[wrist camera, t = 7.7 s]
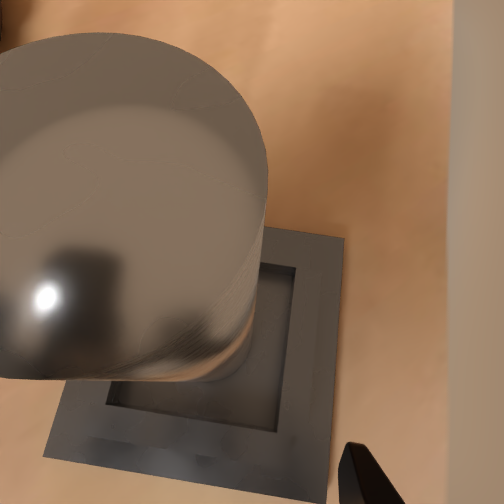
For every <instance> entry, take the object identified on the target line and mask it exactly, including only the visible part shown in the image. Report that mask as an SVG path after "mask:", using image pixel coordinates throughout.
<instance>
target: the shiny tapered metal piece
mask: <svg viewBox="0 0 504 504" xmlns="http://www.w3.org/2000/svg"><path fill="white" fill-rule="evenodd" d="M267 192H268V166H267V158H266V150H265V146H264V143H263V139H262V136H261V132H260V129H259V127H258V125H257V123H256V120H255V118H254V116H253V114H252V112H251V110H250V109H249V107H248V106H247V104H246V102H245V101H244V99H243V98H242V96H241V95H240V94H239V93H238V91H237V90H236V89H235V88H234V87H233V86H232V85H231V83H230V82H229V81H228V80H227V79H225V78H224V77H223V76H222V75H221V74H220V73H219V72H217V71H216V70H215V69H214V68H213V67H211V66H210V65H208V64H207V63H205V62H204V61H202V60H201V59H199V58H198V57H196V56H194V55H192V54H190V53H188V52H186V51H184V50H182V49H180V48H177V47H175V46H172V45H169V44H166V43H164V42H161V41H157V40H153V39H149V38H145V37H141V36H135V35H128V34H120V33H99V32H98V33H79V34H70V35H64V36H57V37H52V38H47V39H43V40H39V41H35V42H31V43H28V44H25V45H22V46H19V47H16V48H13V49H10V50H8V51H6V52H3V53H1V54H0V377H3V378H8V379H30V380H89V381H168V382H214V381H218V380H222V379H224V378H226V377H228V376H230V375H232V374H233V373H234V372H236V371H237V370H238V369H239V368H240V366H241V365H242V364H243V363H244V361H245V359H246V358H247V355H248V353H249V350H250V347H251V340H252V331H253V322H254V313H255V303H256V294H257V285H258V276H259V267H260V257H261V248H262V239H263V230H264V221H265V211H266V202H267Z"/></svg>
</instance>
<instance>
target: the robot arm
mask: <svg viewBox="0 0 504 504" xmlns="http://www.w3.org/2000/svg"><path fill="white" fill-rule="evenodd" d="M338 485H339V504H405V503H404V501H403V500H402V498H401V497H400V495H399V494H398V492H397V491H396V489H395V488H394V486H393V485H392V483H391V482H390V480H389V479H388V477H387V476H386V475H385V473H384V472H383V470H382V469H381V467H380V466H379V464H378V463H377V461H376V460H375V458H374V457H373V455H372V454H371V452H370V451H369V449H368V448H367V447H366V446H365V445H364V444H360V443H354V442H348V443H347V444H346V445H345V448H344V451H343V454H342V457H341V460H340V463H339V467H338Z"/></svg>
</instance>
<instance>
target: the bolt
mask: <svg viewBox="0 0 504 504" xmlns="http://www.w3.org/2000/svg"><path fill="white" fill-rule="evenodd" d="M1 31H2V5H1V0H0V40H1Z"/></svg>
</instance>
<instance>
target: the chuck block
mask: <svg viewBox="0 0 504 504" xmlns="http://www.w3.org/2000/svg"><path fill="white" fill-rule="evenodd" d="M343 249H344V238H338V237H331V236H325V235H318V234H311V233H305V232H298V231H291V230H285V229H278V228H271V227H265V226H264V230H263V239H262V248H261V257H260V267H259V276H258V285H257V294H256V303H255V313H254V322H253V331H252V340H251V347H250V350H249V353H248V355H247V358H246V359H245V361H244V363H243V364H242V365H241V366H240V368H239V369H238V370H237V371H236V372H234V373H233V374H232V375H230V376H228V377H226V378H224V379H222V380H218V381H214V382H168V381H89V380H66V383H65V387H64V390H63V393H62V396H61V399H60V403H59V406H58V409H57V412H56V415H55V419H54V422H53V425H52V428H51V431H50V434H49V438H48V441H47V444H46V447H45V450H44V454H43V457H48V458H54V459H60V460H65V461H71V462H77V463H83V464H89V465H95V466H101V467H106V468H112V469H118V470H124V471H130V472H136V473H142V474H147V475H153V476H159V477H165V478H171V479H177V480H183V481H188V482H194V483H200V484H206V485H212V486H218V487H224V488H229V489H235V490H241V491H247V492H253V493H259V494H264V495H270V496H276V497H282V498H288V499H294V500H300V501H305V502H311V503H317V504H326V498H327V484H328V469H329V454H330V440H331V425H332V411H333V396H334V381H335V367H336V352H337V337H338V323H339V308H340V293H341V279H342V264H343Z"/></svg>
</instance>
